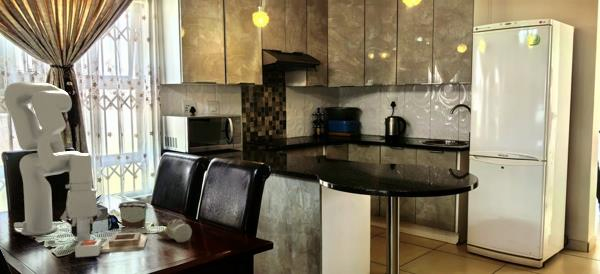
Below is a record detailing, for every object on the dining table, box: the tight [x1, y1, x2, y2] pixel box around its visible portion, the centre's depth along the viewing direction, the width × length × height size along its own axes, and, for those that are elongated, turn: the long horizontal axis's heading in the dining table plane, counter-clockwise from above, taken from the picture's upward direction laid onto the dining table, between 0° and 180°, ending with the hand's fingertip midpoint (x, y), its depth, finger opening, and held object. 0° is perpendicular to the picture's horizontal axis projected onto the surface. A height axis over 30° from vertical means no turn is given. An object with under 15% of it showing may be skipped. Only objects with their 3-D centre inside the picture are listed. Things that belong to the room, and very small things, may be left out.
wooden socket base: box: [100, 232, 148, 253], centre depth 170 cm, size 14×14×3 cm
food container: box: [118, 200, 149, 228], centre depth 196 cm, size 12×6×10 cm, turn 84°
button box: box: [74, 239, 103, 258], centre depth 161 cm, size 7×7×4 cm
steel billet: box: [73, 217, 91, 243], centre depth 175 cm, size 4×4×8 cm
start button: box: [82, 239, 96, 246], centre depth 161 cm, size 4×4×2 cm
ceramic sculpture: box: [156, 217, 193, 243], centre depth 177 cm, size 11×9×15 cm
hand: (82, 234), depth 175 cm, fingers closed on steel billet, 4 cm apart
